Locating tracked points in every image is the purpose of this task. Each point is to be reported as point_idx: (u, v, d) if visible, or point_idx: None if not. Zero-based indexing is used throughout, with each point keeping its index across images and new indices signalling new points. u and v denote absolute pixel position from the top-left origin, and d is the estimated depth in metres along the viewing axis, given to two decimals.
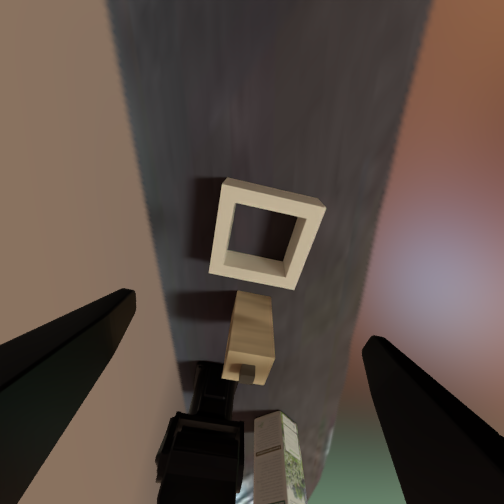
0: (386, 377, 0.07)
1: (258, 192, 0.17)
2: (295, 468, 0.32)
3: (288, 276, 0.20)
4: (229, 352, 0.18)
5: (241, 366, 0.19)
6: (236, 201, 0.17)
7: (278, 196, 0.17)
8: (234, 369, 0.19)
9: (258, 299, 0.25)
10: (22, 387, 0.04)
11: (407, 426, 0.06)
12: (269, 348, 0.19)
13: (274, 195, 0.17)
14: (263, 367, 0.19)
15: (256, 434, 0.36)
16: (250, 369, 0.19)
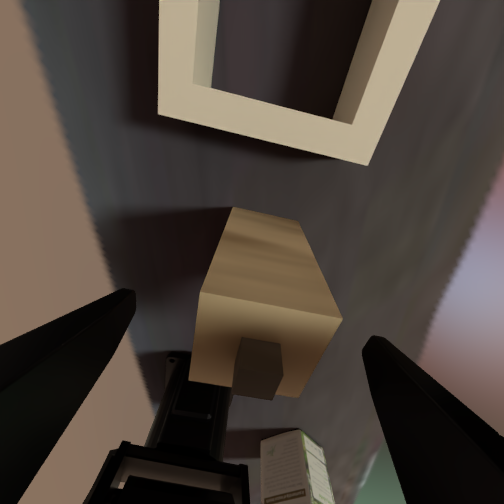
0: (386, 377, 0.07)
1: None
2: None
3: (359, 121, 0.08)
4: (202, 299, 0.06)
5: (240, 345, 0.06)
6: None
7: None
8: (220, 355, 0.07)
9: (275, 220, 0.12)
10: (22, 387, 0.04)
11: (407, 426, 0.06)
12: (319, 295, 0.07)
13: None
14: (303, 349, 0.07)
15: (264, 465, 0.24)
16: (267, 353, 0.06)
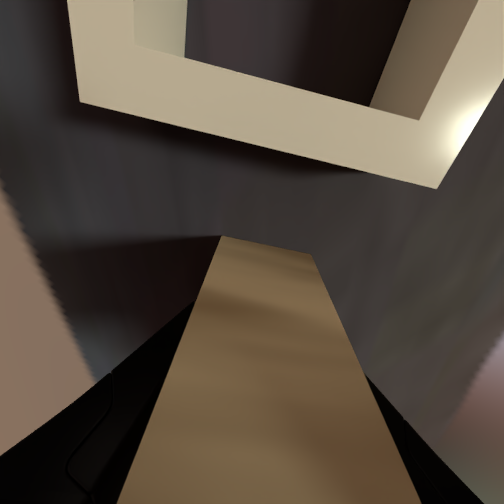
0: None
1: None
2: None
3: (432, 114, 0.05)
4: None
5: None
6: None
7: None
8: None
9: (279, 257, 0.09)
10: (150, 406, 0.04)
11: None
12: (380, 470, 0.03)
13: None
14: None
15: None
16: None
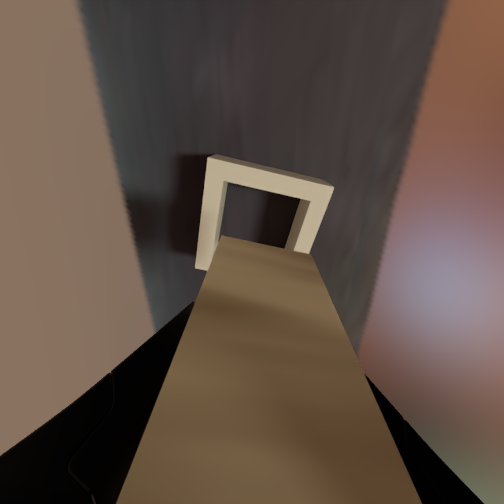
0: None
1: (252, 168, 0.14)
2: None
3: None
4: None
5: None
6: (225, 179, 0.14)
7: (276, 173, 0.14)
8: None
9: (279, 257, 0.09)
10: (151, 406, 0.04)
11: None
12: (381, 472, 0.03)
13: (271, 172, 0.14)
14: None
15: None
16: None
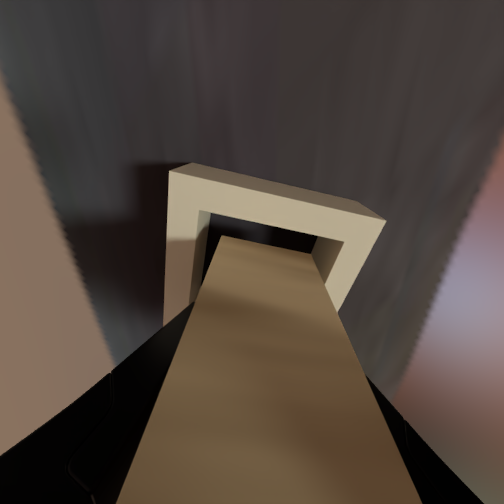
0: None
1: (247, 189, 0.08)
2: None
3: None
4: None
5: None
6: (202, 207, 0.08)
7: (288, 197, 0.08)
8: None
9: (279, 256, 0.09)
10: (151, 406, 0.04)
11: None
12: (381, 472, 0.03)
13: (280, 195, 0.08)
14: None
15: None
16: None
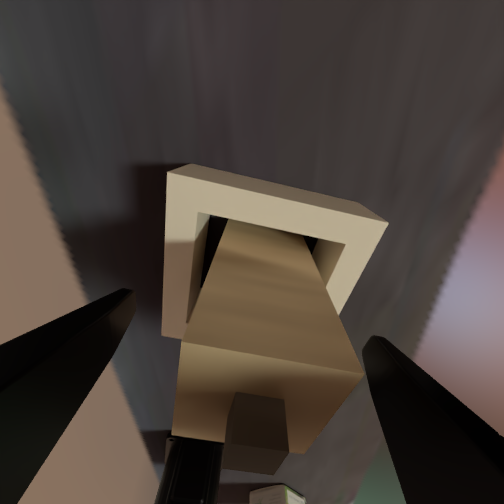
0: (386, 377, 0.07)
1: (246, 190, 0.08)
2: None
3: None
4: (185, 350, 0.05)
5: (233, 402, 0.05)
6: (201, 209, 0.08)
7: (289, 199, 0.08)
8: (209, 410, 0.06)
9: (276, 233, 0.11)
10: (22, 387, 0.04)
11: (407, 426, 0.06)
12: (332, 337, 0.05)
13: (280, 197, 0.08)
14: (312, 405, 0.05)
15: None
16: (267, 416, 0.05)
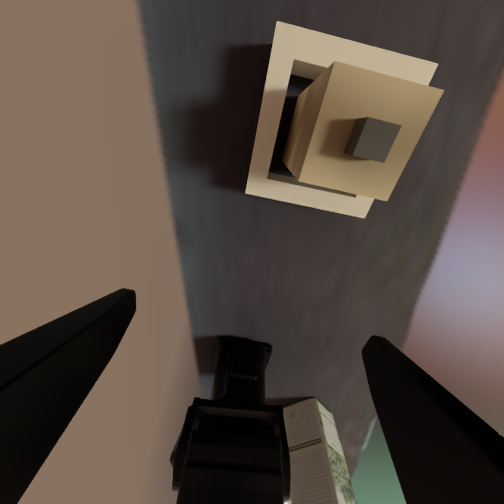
0: (386, 377, 0.07)
1: (333, 37, 0.11)
2: (340, 466, 0.26)
3: (359, 195, 0.14)
4: (334, 71, 0.07)
5: (355, 124, 0.08)
6: (296, 57, 0.11)
7: (363, 46, 0.11)
8: (333, 145, 0.08)
9: None
10: (22, 387, 0.04)
11: (407, 426, 0.06)
12: None
13: None
14: (403, 132, 0.08)
15: (287, 425, 0.30)
16: None
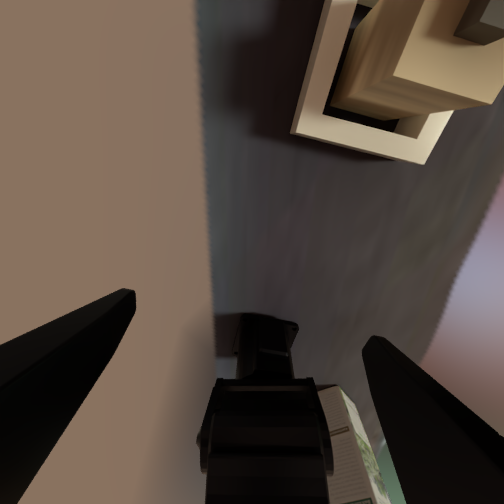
0: (386, 377, 0.07)
1: None
2: (369, 456, 0.24)
3: (421, 136, 0.13)
4: None
5: None
6: None
7: None
8: (443, 23, 0.07)
9: None
10: (22, 387, 0.04)
11: (407, 426, 0.06)
12: None
13: None
14: None
15: None
16: None
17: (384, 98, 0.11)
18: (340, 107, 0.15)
